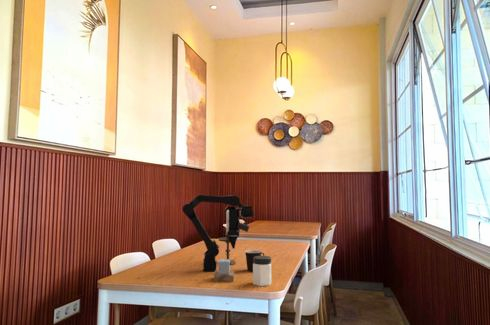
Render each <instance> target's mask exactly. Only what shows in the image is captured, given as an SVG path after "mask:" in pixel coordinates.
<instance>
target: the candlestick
mask: <svg viewBox="0 0 490 325" xmlns="http://www.w3.org/2000/svg"><path fill="white" fill-rule="evenodd" d="M227 206H229V207H230V205H228V204H227ZM225 211H226V215H225V216H226V218H225V219H226V220H225V222H226V225H225V226H226V229H225V231H226V233H225V236H224V237H223V236H222V237H218V241H219V242H224V243H226V249H225V253H226V254H225V256H226V259H230V253H231V249H230V244H231V243H230V241H229V238H228V236H227V232H228V228H229V222H228V220H229V210H225ZM237 241H238V238H237V239H236V242H237ZM232 265H233V266H234V265H236V260H231V259H230V266H232Z"/></svg>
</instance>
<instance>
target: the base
mask: <svg viewBox="0 0 490 325" xmlns="http://www.w3.org/2000/svg"><path fill="white" fill-rule="evenodd" d="M234 279H235V271H234V270H230V272H229V274H219V270H215V271H214V275H213V282H215V283H221V282H222V283H233V282H234V281H235V280H234Z"/></svg>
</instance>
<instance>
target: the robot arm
mask: <svg viewBox="0 0 490 325" xmlns="http://www.w3.org/2000/svg"><path fill="white" fill-rule="evenodd" d="M202 202H203V203H216V204H217V203H218V204H225V205H227V206H226V207H225V208H224V210H225V211H227V210H229V220H228V222H229V228H228V232H227V236H228V238H229V241H230V243H229V244H230V246H231V249H235V248H236V242H237V241H236V239H237V240H238V238H239V237H240V231H244V232H246V233H248V231H249V229H250V225H248V222H245V221H244V222H240V221H241V220H240V217H241V218H242V219H253V216H254V211H253V206H252V205H243V204H242V203H241V202H240V197H239V196H238V195H235V194H232V195H223V196H222V195H221V196H220V195H209V194H208V195H207V194H206V195H205V194H200V193H199V194H197V195H196V196H195V197H194V198H193V199H192V200H191V201H190V202H187V203H185V204H184V205H183V206H182V212H183V214H185V215H186V217H187V218H188V219H189V220H190V221H191V223H192V225H193V226H194V227H195V229H196V231H197V232H198V234H199V236H200V238H201V239H202V241H203V242H204V246H205V247H206V251H205V252H204V253H203V256H204V258H203V268H202V272H216V271H217V267H218V266H217V263H218V262H217V260H216V257H217V256H218V255H219V253H220V250H219V248H220V246H219V245H218V244H217V242H216V239H213V240H212V239H211V237H210V236H209V234H208V233H207V231H206V229H205V228H204V226H203V224H202V222H201V221H200V220H199V218H198V216H197V213H196V211H195V208H196V207H197V206H199V204H200V203H202ZM228 205H229V206H228ZM236 207H237V208H236Z"/></svg>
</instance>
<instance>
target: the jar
mask: <svg viewBox="0 0 490 325" xmlns="http://www.w3.org/2000/svg"><path fill="white" fill-rule="evenodd" d="M271 284H272V257H271V256H267V255H264V256H263V255H261V256H255V257H254V258H253V272H252V285H254V286H258V287H269V286H271Z"/></svg>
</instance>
